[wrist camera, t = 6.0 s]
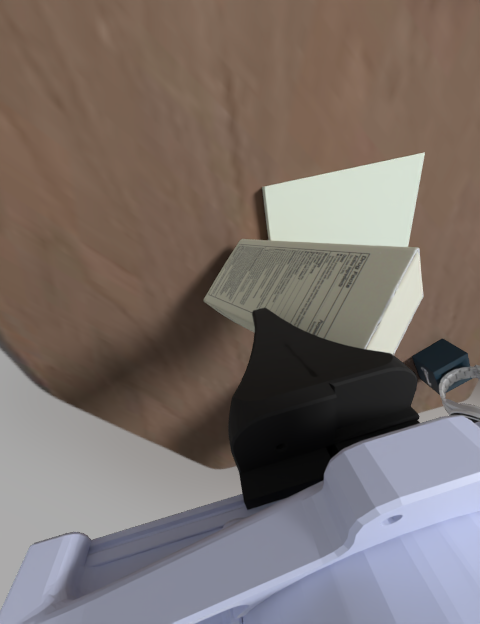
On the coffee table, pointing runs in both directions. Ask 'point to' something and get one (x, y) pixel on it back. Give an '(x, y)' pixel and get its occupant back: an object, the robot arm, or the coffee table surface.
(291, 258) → the skincare box
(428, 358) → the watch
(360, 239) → the mat
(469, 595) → the robot arm
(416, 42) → the coffee table surface
